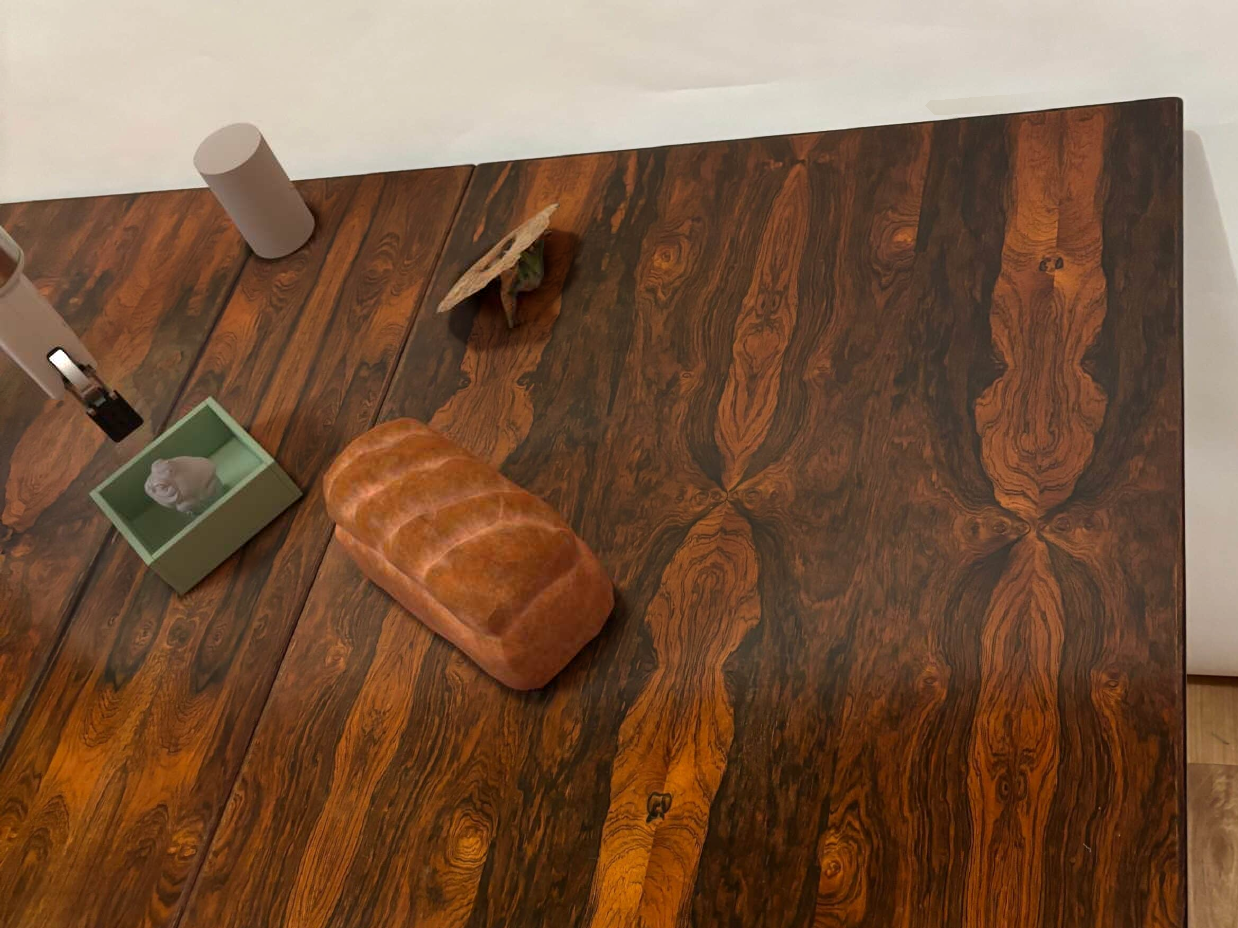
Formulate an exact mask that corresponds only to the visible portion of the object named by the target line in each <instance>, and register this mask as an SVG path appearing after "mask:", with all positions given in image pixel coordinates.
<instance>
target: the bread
mask: <svg viewBox="0 0 1238 928" xmlns="http://www.w3.org/2000/svg"><path fill="white" fill-rule="evenodd" d="M322 480H323V481H322V482H323V483H322V484H323V485H322V492H323V496H324V500H325V504H326V505H325V507H326V509H327V514H328V517H329V518H330V519H332V521H333V522H334V523H335V529H334V535H335V537H336V538H337V540H338V541H339V543H340V544H341V546H342V548H343V549H344V551H345V553H346V554H347V555H348V556H349V557H350V559H351V560H352V561H353V562H354V564H355V565H356V566H357V567H358V569H359V570H360V571H361V573H362V574H363V575H365V576H366V577H367V578H368V579H370V580H371V581H372V582H373V583H374V584H375V585H376V586H378V587H379V588H381V589H383V590H384V591H385V592H386V593H387V594H389V595H390V596H391V597H392V598H393V599H394V600H395V601H397V602H398V603H399V604H400V605H401V606H402V607H403V608H405V609H406V610H407V611H409V612H410V613H411V614H412V615H413V616H415V617H416V618H417V619H418V620H419V621H420V622H422V623H423V624H424V625H425V626H427V627H428V628H429V629H430V630H432V631H433V632H434V633H436V634H438V635H439V636H441V637H443V638H444V639H446V640H447V641H449V642H451V643H452V644H453V645H455V646H456V647H457V648H458V649H459V650H461V652H463V653H464V654H465V655H466V656H468V657H469V658H470V659H471V660H472V661H473V662H474V663H476V665H478V666H479V668H481V669H482V670H483V671H485V672H486V673H487V674H488V675H489V676H491V677H492V678H494V679H496V680H498V681H499V682H500V683H502V684H503V685H505V686H507V687H508V688H511V689H513V690H516V691H517V690H518V691H530V690H537V689H542V688H543V687H544V686H545V685H547V684H548V683H549V682H550V681H551V680H552V679H553V678H554V677H555V676H556V675H557V674H559V673H560V672H561V671H562V670H563V669H564V668H565V667H566V666H567V665H568V664H569V663H570V662H571V661H572V660H573V659H574V657H575V656H576V655H577V654H578V653H579V652H580V651H581V650H582V649H583V648H584V647H585V646H586V645H587V644H588V643H589V642H590V641H592V640H593V639H594V638H595V637H597V636H598V635H599V634H600V632H601V630H602V629H603V626H604V625H605V623H606V622H607V620H608V618H609V616H610V614H611V612H612V611H613V608H614V607H615V597H614V587H613V584H612V581H611V579H610V577H609V575H608V574H607V572H606V570H605V569H604V567H603V565H602V564H601V562H600V560H599V559H598V558H597V556H596V555H595V554H594V552H593V551H592V550H591V549H590V548H589V546H588V544H587V543H586V542H585V541H583V540H582V539H581V538H580V537H579V536H578V535H577V534H576V533H575V532H574V529H573V528H572V527H571V525H570V524H568V523H567V522H566V521H565V520H564V519H563V517H562V516H561V515H560V514H559V513H558V512H557V511H556V510H555V509H554V508H553V507H552V506H551V505H549V504H548V503H547V502H546V501H544V500H543V499H542V498H540V497H538V496H537V495H535V494H533V493H531V492H529V491H528V490H526V489H524V488H522V487H521V486H519V485H518V484H517V483H515V482H514V481H512V480H510V479H509V478H508V477H506V476H505V475H503V473H501V472H500V471H498V470H497V469H495V468H494V467H493V466H491V465H489V464H488V463H486V462H485V461H484V460H482V459H481V458H479V457H478V456H476V454H474V453H472V452H471V451H469V450H468V449H466V448H464V447H463V446H462V445H460V444H459V443H456V442H454V441H452V440H450V439H448V438H447V437H445V436H444V435H443V434H441V432H438V431H437V430H435V429H433V428H432V427H430V426H429V425H427V424H425V423H423V421H420V420H418V419H415V418H412V417H400V418H397V419H393V420H389V421H387V422H384V423H383V422H382V423H380V424H377V425H375V426H374V427H373V428H371V429H370V430H368V431H366V432H365V433H363V434H361V435H360V436H358V437H357V438H355V439H354V440H352V441H351V442H350V443H349V444H348V445H347V446H346V447H345V448H344V449H343V450H342V452H341V453H340V454H339V455H338V456H337V457H336V458H335V460H334V461H333V463H332V464H331V466H330V467H329V468H328V470H327V471H326V473H325V474H324V475H323V479H322Z"/></svg>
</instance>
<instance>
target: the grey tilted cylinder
mask: <svg viewBox="0 0 1238 928" xmlns="http://www.w3.org/2000/svg"><path fill="white" fill-rule="evenodd" d="M193 166H194V168H195V169H196V170H197V172H198V173H199V175H200V176H201V178H202V179H203V181H204V182H205V183H206V185H207V186H208V187H209V189H210V190H211V192H212V193H213V195H214V196H215V197H216V199H217V201H218V202H219V204H220V205H221V206H222V209H224V210H225V212H226V214H227V215H228V216H229V218H230V220H232V222H233V224H234V225H235V227H236V228H237V229H238V231H239V232H240V234H241V235H242V237H243V238H244V239H245V241H246V242H247V243H248V245H249V246H250V248H251V249H252V250H253V252H254V253H255V254H256V255H257V256H258V257H261V258H264V259H278V258H282V257H285V256H288V255H290V254H292V253H293V252H295V251H296V250H298V249H300V248H301V247H302V246H303V245H304V244H305V243H306V242H307V241H308V240H309V239H310V237H311V236H312V234H313V232H314V229H315V218H314V216H313V214H312V212H311V210H309V208H308V206H307V205H306V203H305V202H304V200H303V198H302V197H301V195H300V193H299V192H298V190H297V189H296V188H295V185H294V184H293V182H292V180H291V179H290V178H289V176H288V175H287V172H286V171H285V169H284V167H283V166H282V164H281V163H280V161H279V160H278V158H277V157H276V155H275V153H274V151H273V150H272V149H271V147H270V145H269V144H268V142H267V140H266V139H265V137H264V136H263V134H262V132H261V131H260V129H259V128H258V127H257V126H256V125H254V124H252V123H248V122H237V123H232V124H228V125H226V126H223V127H221V128H219V129H217V130H215V131H213V132H212V133H210V134H209V135H208V136H207V137H206V138H204V139H203V140H202V141H201V142H200V144H199V145H198V147H197V148H196V150H195V152H194V155H193Z"/></svg>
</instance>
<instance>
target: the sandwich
mask: <svg viewBox="0 0 1238 928" xmlns="http://www.w3.org/2000/svg"><path fill="white" fill-rule="evenodd" d="M560 206H561V203H560V202H555V203H552V204H549V205H548V206H546V207H545V208H544V209H542V210H541V211H539V212H537V213H536V214H535V215H534V216H532V217H530V218H529V219H528V220H526V221H525V222H523V223H521V224H520V225H519V226H517V227H516V228H514V230H512V231H511V232H510V233H509V234H507V235H506V236H505V237H503V238H502V239H501V240H500V241H499V242H497V243H496V244H495V246H493V247H492V248H491V250H489V251H488V252H487V253H486V254H485V255H484V256H482V257H481V258H480V259H479V260H478V261H477V262H475V263H474V264H473V265H472V266H471V267H470V268H469V269H468V270H467V271H466V272H465V273H464V274H463V275H462V276H461V277H460V278H459V279H458V281H457V282H456V283H455V284H454V285H453V286H452V288H451V289H450V291H448V293H447V294H446V296H445V297H444V299H443V300H441V302H440V303H439V304H438V306H437V308H436V313H444V312H446V311H449V310H451V309H452V308H453V307H455V306H456V305H457V304H459V303H460V302H461V301H462V300H464V299H467V298H468V297H471V296H472V295H473V294H475V293H477V292H478V291H480V290H482V289H484V288H485V287H486V286H487V285H488V283H490V281H492V280H493V279H496V280H498V281H501V285H500V298H501V299H500V300H501V304H502V308H503V311H504V315H505V317H506V319H507V321H508V327H509V328H510V329H512V328H513V327H514V326H515V321H516V315H515V314H516V313H515V312H516V308H517V294H518V293H519V292H531V291H534V290H536V289H538V288H539V287H540V286H541V283H542V279H543V278H544V274H545V273H544V267H545V266H544V256H543V255H544V254H543V253H544V244H545V241H544V239H541V240H539V237H540V236H541V235H542V238H547V237H551V236H553V235H554V231H552V230H546V229H547V228H548V227H549V224H550V223H551V221H550V218H549V217H550V216H551V215H552V214H553V213H554V211H556V210H557V209H558V207H560ZM544 230H546V231H544ZM533 243H534V245H535V246H533ZM526 249H528V250H527V252H526V251H525V250H526Z"/></svg>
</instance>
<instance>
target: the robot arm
mask: <svg viewBox="0 0 1238 928" xmlns="http://www.w3.org/2000/svg"><path fill="white" fill-rule="evenodd" d="M25 257H26V256H25V253H24V251H23V249H22V248H21V246H20V245H19V244H18V243H17V242H16V241H15V240H14V239H13V237H11V236H10V234H8V232H7V231H6V230H5V229H4V228H3V227H2V226H1V225H0V348H1V349H2V350H3V351H5V353H7V355H8V356H9V357H10V358H11V359H13V361H14V362H16V364H17V365H18V366H20V367H21V368H22V369H23V370H24V371H25V373H26V374H27V375H29V377H31V379H32V380H34V381H35V383H36V384H37V385H38V386H39V387H40V388H41V389H42V390H43V391H44V392H45V393H46V394H47V395H48V396H49V397H50V398H51V399H53V400H62V399H63V397H64V396H66V395H67V394H68V392H69V394H70V395H71V396H72V397H73V398H74V399H75V400H76V401H77V402H78V403H79V404H80V405H81V407H83V408H84V410H86V411H85V412H84V413H85V414H86V415H87V416H88V417H89V418H90V419H91V420H92V422H93V423H95V425H97V426H98V427H99V429H101V430H102V432H104V433H105V434H106V435H107V436H108V437H109V438H110V440H112V441H113V442H114V443H116V444H118V443H121V442H122V441H124V439H126V438H127V437H128V436H129V435H131V434H132V433H134V432H135V431H136V430H138V428H140V427H141V426H142V425H143V424H144V422H145V421H144V419H143V417H142V416H141V415H140V414H139V413H138V412H137V411H136V410H135V409H134V408H133V406H132V405H130V403H129V402H128V401H127V400H126V399H125V398H124V397H123V396H122V395H121V394H120V393H119V392H118V391H117V389H114V390H112V388H111V387H110V386H108V384H107V383H106V382H105V381H104V380H103V379H102V378H101V376H99V375H98V373H97V372H98V368H99V367H98V365H99V364H98V362H97V361H96V360H95V358H94V357H93V355H92V354H91V353H90V352H89V350H88V349H87V347H86V346H85V345H84V344H83V343H82V341H81V340H80V338H79V337H78V336H77V335H76V333H75V332H74V330H72V328H71V327H70V326H69V325H68V323H67V322H66V321H65V320H64V319H63V317H62V316H61V315H60V313H58V311H57V310H56V309H55V308H54V306H53V305H52V304H51V303H50V302H49V300H48V299H47V298H46V297H45V296H44V295H43V294H42V292H41V291H39V289H38V288H37V287H36V286H35V285H34V284H33V283H32V281H31V280H30V279H29V277H27V275H25V273H23V271H24V268H25V264H26V258H25ZM90 378H92V379H93V381H94V382H95V383H96V384H97V385H98V386H97V387H96V385H95V384H94V383H93V382H92V381H91V379H90ZM67 391H68V392H67Z"/></svg>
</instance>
